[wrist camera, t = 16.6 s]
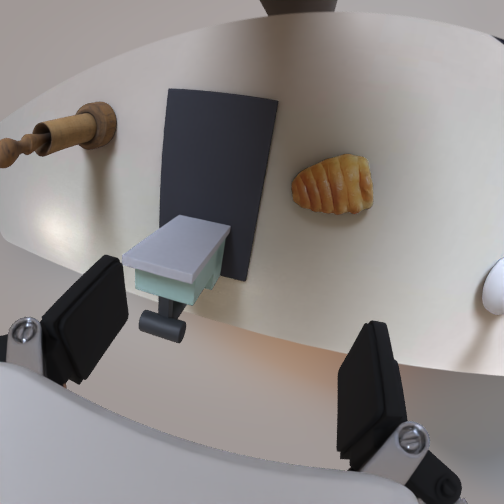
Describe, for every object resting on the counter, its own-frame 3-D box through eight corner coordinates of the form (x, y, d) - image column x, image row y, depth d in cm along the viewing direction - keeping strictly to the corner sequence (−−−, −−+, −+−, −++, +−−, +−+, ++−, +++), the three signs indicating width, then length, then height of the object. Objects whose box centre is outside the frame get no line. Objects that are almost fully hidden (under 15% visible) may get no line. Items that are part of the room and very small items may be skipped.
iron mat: (170, 88, 31) (168, 88, 30) (278, 100, 30) (277, 100, 29) (160, 258, 43) (159, 260, 42) (246, 279, 42) (245, 281, 41)
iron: (121, 255, 25) (125, 335, 29) (192, 274, 25) (186, 356, 28) (179, 214, 38) (173, 278, 42) (230, 225, 37) (220, 290, 41)
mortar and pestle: (96, 92, 32) (-10, 111, 17) (125, 119, 34) (17, 149, 18) (76, 129, 35) (-23, 163, 20) (101, 155, 37) (3, 201, 21)
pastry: (298, 216, 36) (296, 228, 33) (286, 162, 33) (283, 169, 30) (373, 204, 33) (380, 216, 30) (366, 149, 31) (372, 154, 27)
